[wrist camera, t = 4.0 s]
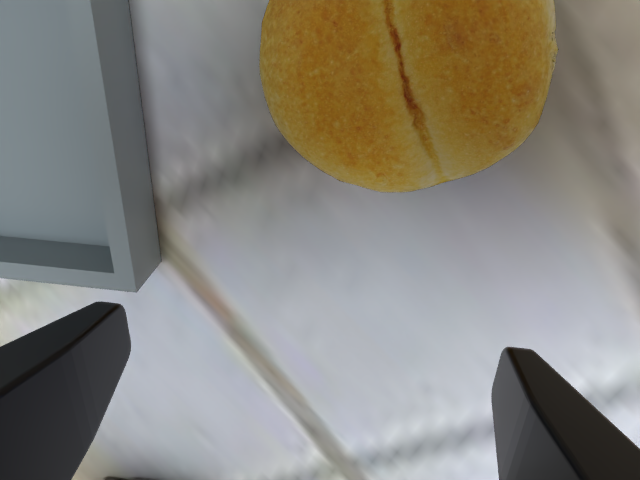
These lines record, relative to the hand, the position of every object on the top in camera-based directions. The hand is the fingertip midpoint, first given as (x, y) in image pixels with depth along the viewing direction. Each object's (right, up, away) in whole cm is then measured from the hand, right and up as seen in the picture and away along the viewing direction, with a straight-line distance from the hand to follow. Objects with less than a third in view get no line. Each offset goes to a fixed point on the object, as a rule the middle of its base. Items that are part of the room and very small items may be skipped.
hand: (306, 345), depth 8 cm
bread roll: (+1, +6, +11) cm, 13 cm away
